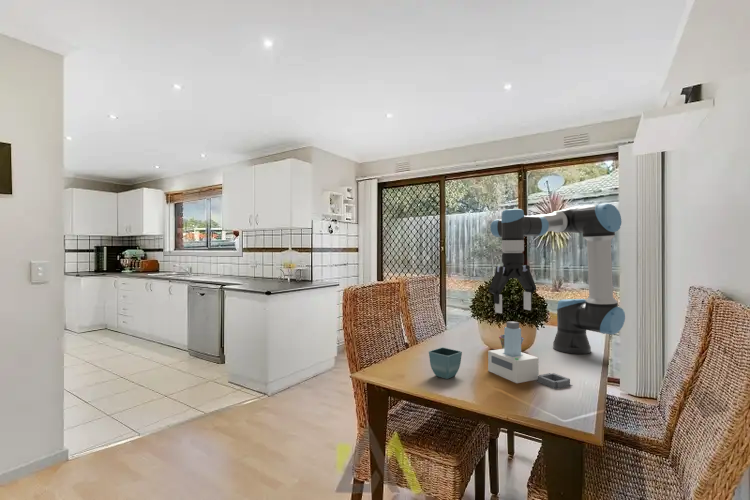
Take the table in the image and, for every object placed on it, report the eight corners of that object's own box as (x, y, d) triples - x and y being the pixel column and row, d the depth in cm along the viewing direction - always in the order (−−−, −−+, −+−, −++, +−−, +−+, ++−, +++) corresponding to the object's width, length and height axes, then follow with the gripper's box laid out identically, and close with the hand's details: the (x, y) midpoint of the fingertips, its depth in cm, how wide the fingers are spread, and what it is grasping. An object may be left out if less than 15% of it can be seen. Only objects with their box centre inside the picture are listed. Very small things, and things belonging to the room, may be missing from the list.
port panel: (508, 368, 141) (508, 346, 141) (538, 380, 128) (538, 356, 128) (487, 372, 137) (487, 349, 137) (516, 385, 124) (516, 360, 124)
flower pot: (442, 370, 139) (442, 346, 139) (462, 376, 133) (462, 351, 133) (428, 376, 133) (428, 351, 133) (448, 382, 126) (448, 356, 126)
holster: (552, 379, 129) (552, 372, 129) (572, 387, 122) (572, 379, 122) (535, 382, 126) (535, 375, 126) (555, 390, 119) (555, 383, 119)
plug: (512, 361, 135) (512, 320, 135) (521, 364, 131) (521, 322, 131) (504, 363, 133) (504, 321, 133) (512, 366, 130) (512, 323, 130)
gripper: (530, 251, 141) (530, 307, 141) (478, 252, 131) (478, 312, 131) (546, 251, 134) (547, 310, 134) (492, 253, 124) (493, 315, 124)
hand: (513, 311), depth 132 cm, fingers open, 13 cm apart
